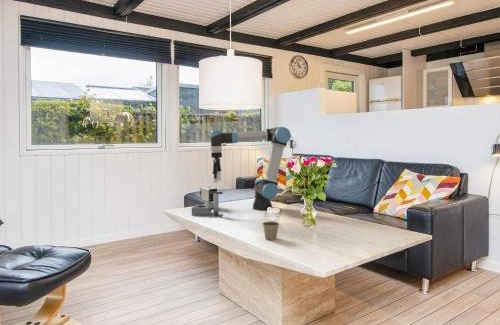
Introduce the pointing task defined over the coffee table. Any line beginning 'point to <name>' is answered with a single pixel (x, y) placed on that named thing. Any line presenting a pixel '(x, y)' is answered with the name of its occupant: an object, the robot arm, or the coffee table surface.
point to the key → (215, 202)
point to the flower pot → (270, 230)
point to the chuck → (201, 210)
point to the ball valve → (207, 195)
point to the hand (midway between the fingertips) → (217, 181)
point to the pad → (216, 216)
